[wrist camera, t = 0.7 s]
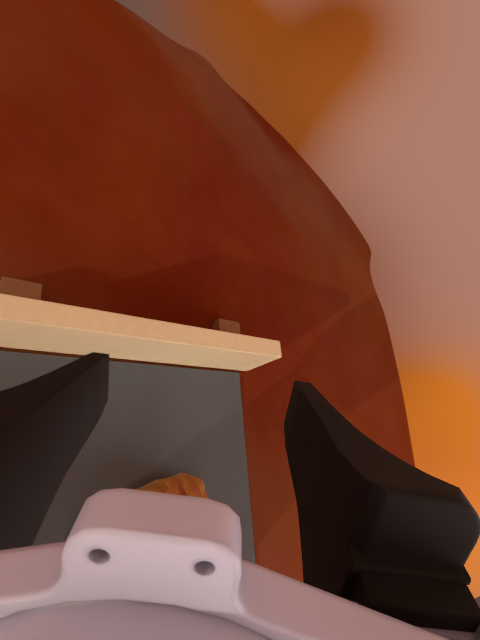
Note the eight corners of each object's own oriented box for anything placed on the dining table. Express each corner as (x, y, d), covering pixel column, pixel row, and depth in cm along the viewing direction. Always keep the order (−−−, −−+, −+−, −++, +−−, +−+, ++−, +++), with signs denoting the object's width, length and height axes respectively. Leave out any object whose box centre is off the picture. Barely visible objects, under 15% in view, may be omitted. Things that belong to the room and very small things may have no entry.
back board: (246, 371, 35) (282, 357, 31) (-37, 343, 22) (-33, 314, 18) (242, 328, 37) (275, 310, 33) (-24, 279, 24) (-17, 240, 20)
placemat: (260, 629, 27) (261, 629, 27) (-99, 787, 15) (-100, 789, 15) (238, 373, 34) (239, 372, 34) (-18, 349, 23) (-18, 348, 23)
